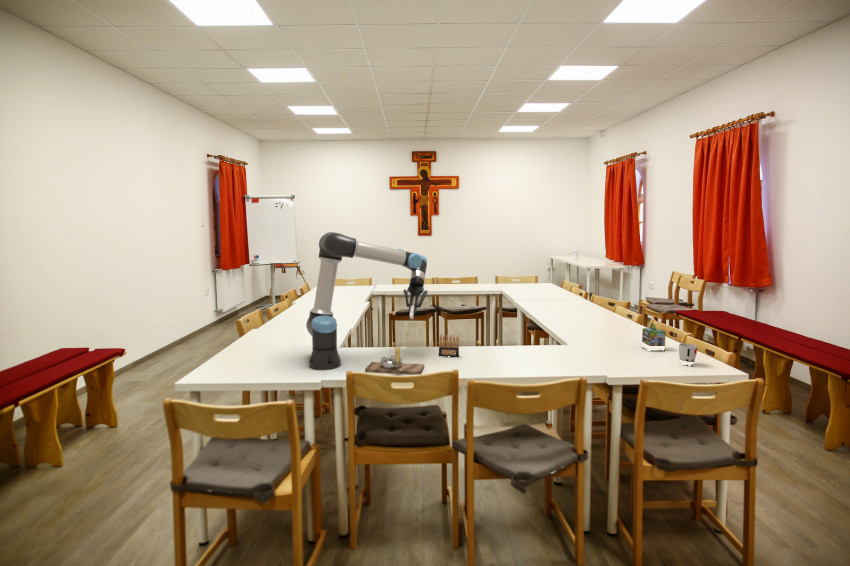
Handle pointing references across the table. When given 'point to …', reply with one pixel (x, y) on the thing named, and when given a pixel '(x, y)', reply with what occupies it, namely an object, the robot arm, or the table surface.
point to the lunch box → (653, 336)
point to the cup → (687, 352)
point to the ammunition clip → (449, 346)
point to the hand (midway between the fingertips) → (411, 317)
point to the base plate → (403, 369)
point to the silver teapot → (392, 360)
